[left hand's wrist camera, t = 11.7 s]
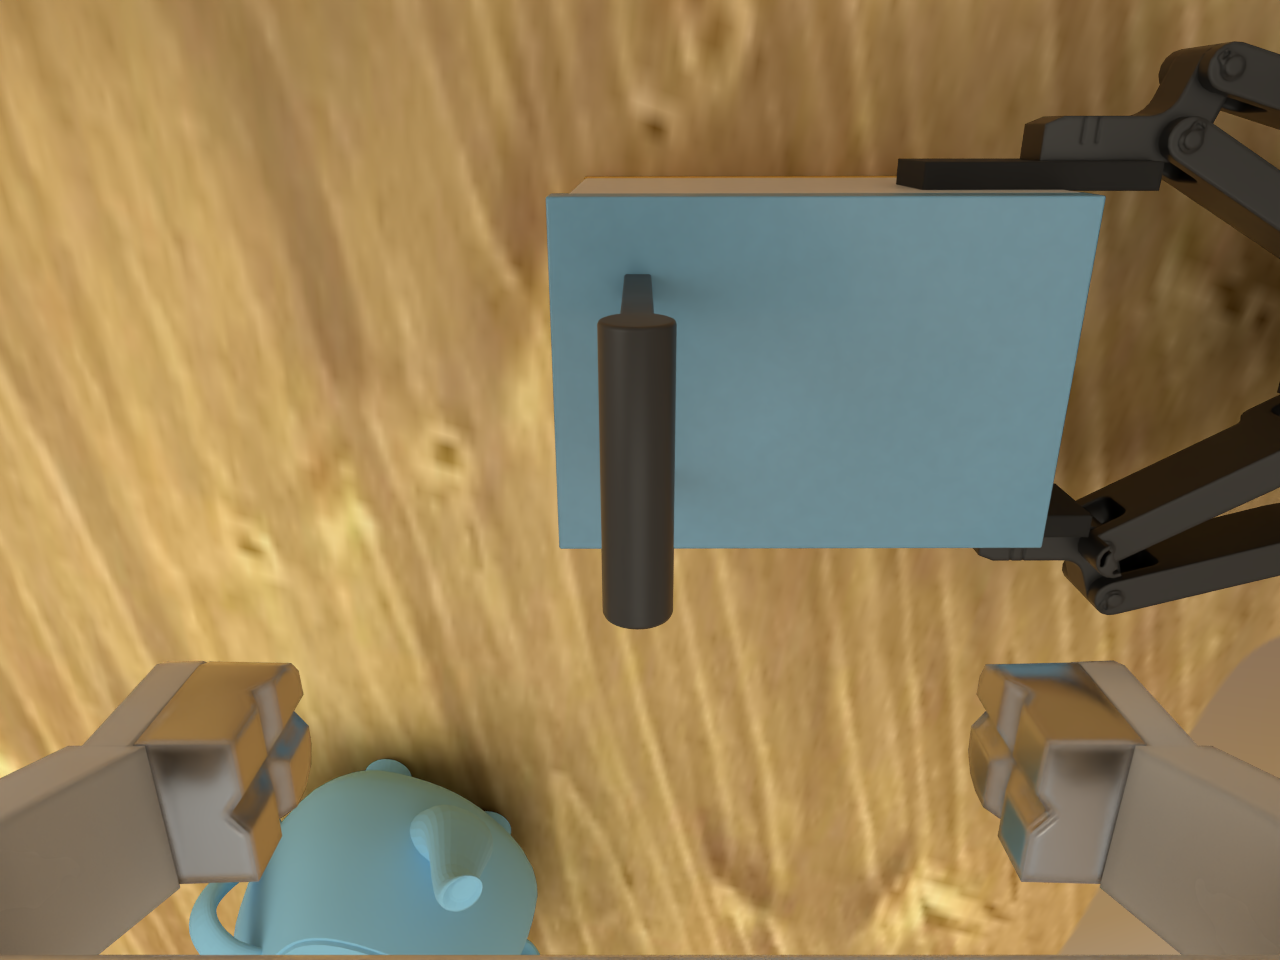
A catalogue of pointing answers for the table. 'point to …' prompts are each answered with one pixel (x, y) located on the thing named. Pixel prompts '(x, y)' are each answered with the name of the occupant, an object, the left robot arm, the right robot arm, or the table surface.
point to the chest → (762, 185)
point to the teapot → (381, 877)
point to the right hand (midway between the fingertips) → (891, 354)
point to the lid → (808, 372)
